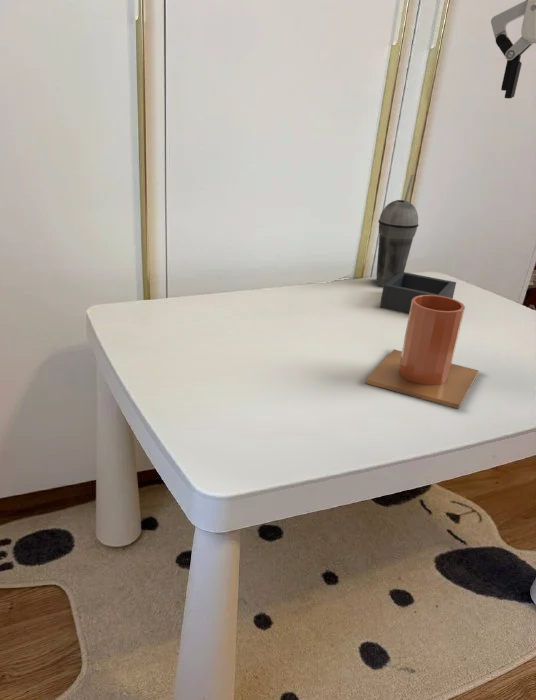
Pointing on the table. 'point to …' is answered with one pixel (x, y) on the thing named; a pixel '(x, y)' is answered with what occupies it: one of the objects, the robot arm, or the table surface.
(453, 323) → the tumbler
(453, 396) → the cork mat
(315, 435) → the table surface
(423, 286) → the cup holder
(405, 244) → the beverage cup
